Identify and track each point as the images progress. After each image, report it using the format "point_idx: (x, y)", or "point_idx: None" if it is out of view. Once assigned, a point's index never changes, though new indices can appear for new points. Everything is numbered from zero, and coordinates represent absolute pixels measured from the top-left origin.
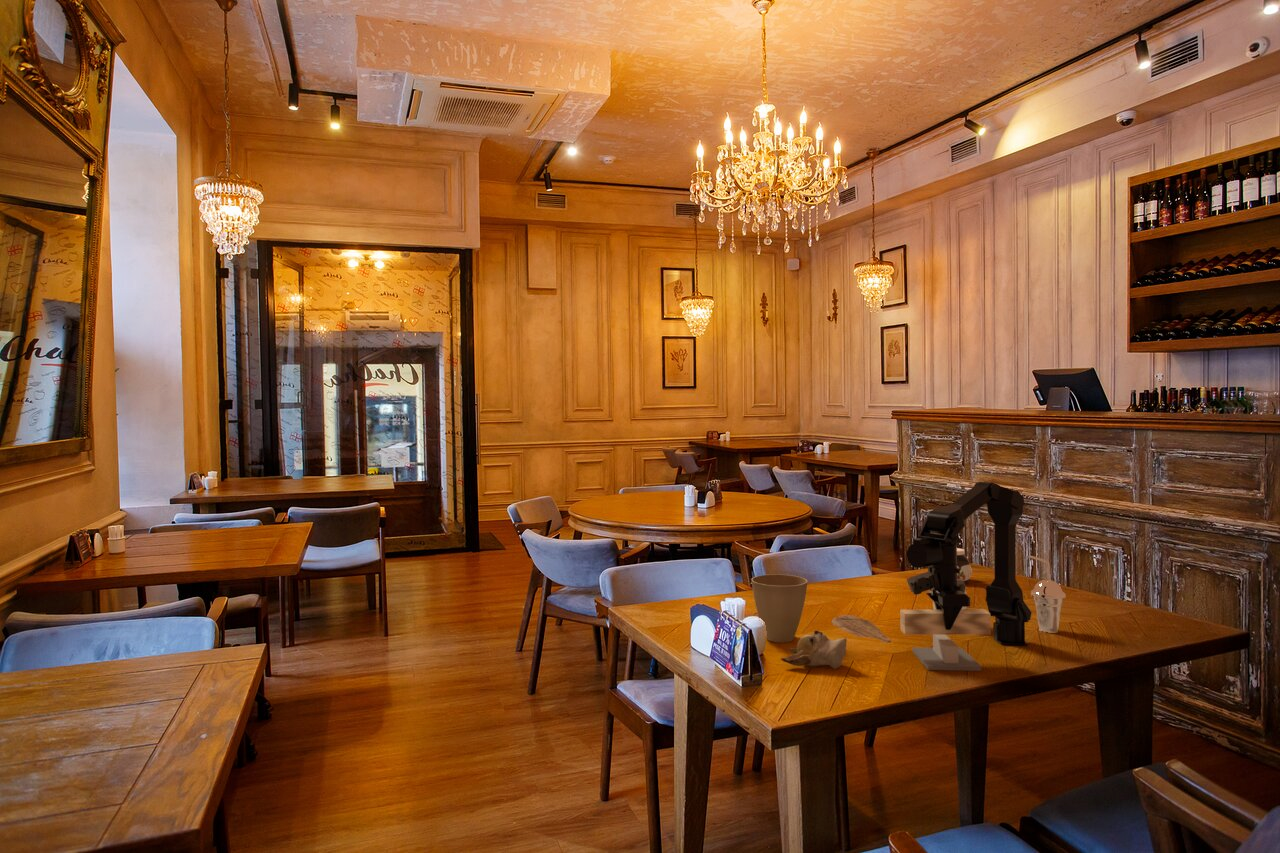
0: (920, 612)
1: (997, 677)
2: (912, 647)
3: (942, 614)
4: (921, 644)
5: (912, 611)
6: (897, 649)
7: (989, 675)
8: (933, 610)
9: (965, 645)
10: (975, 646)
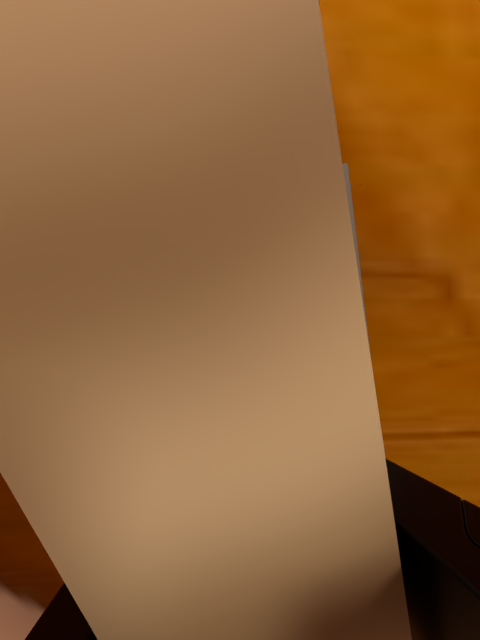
0: (34, 262)
1: (18, 556)
2: (346, 163)
3: (107, 637)
4: (475, 224)
5: (74, 16)
6: (365, 63)
7: (33, 529)
8: (313, 506)
9: (469, 426)
10: (457, 462)
